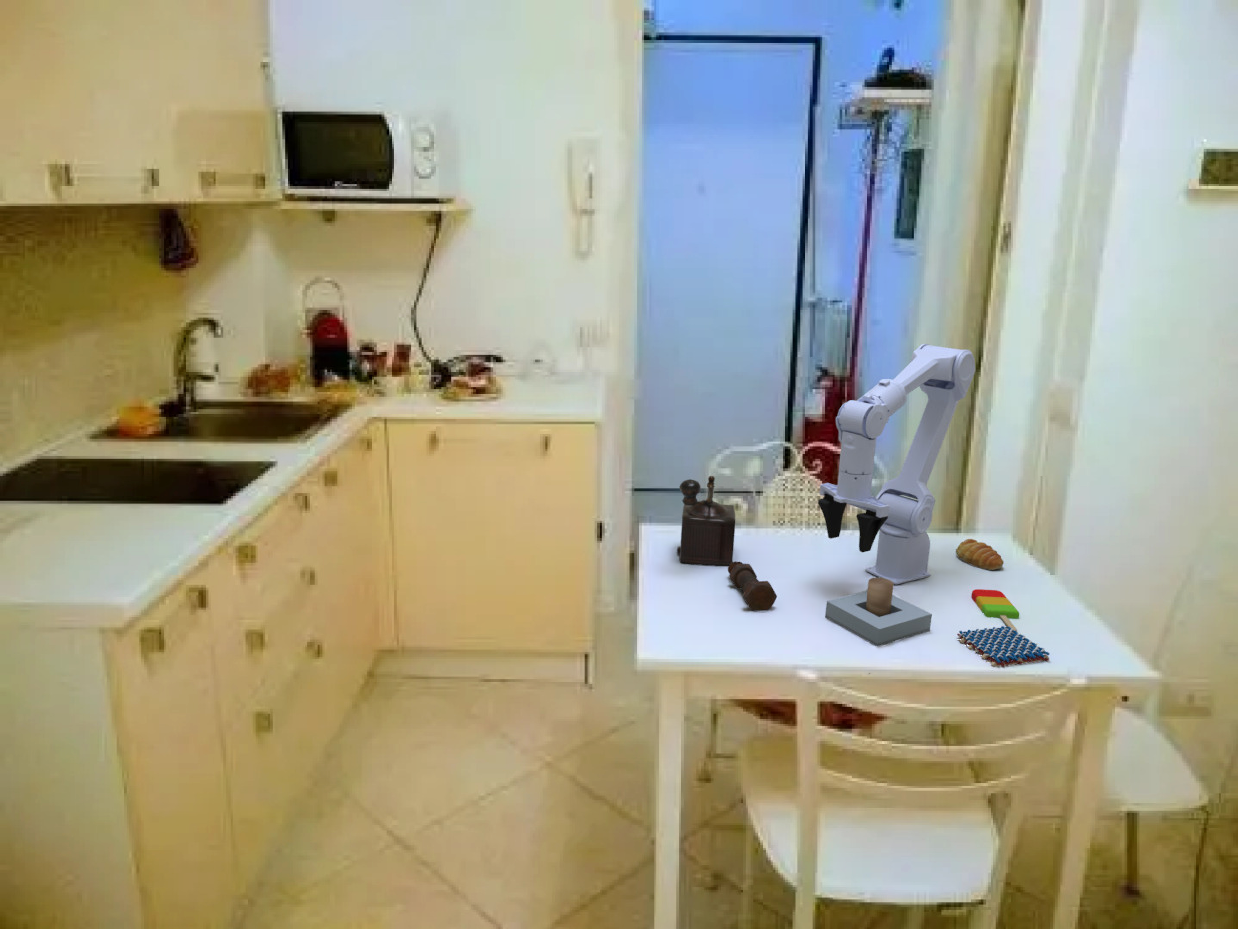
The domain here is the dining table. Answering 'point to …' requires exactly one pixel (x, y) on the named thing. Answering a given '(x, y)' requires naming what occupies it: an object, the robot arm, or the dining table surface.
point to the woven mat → (1003, 646)
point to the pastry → (979, 555)
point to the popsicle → (995, 605)
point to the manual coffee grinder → (705, 527)
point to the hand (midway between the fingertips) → (849, 544)
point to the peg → (879, 596)
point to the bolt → (752, 587)
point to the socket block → (878, 619)
